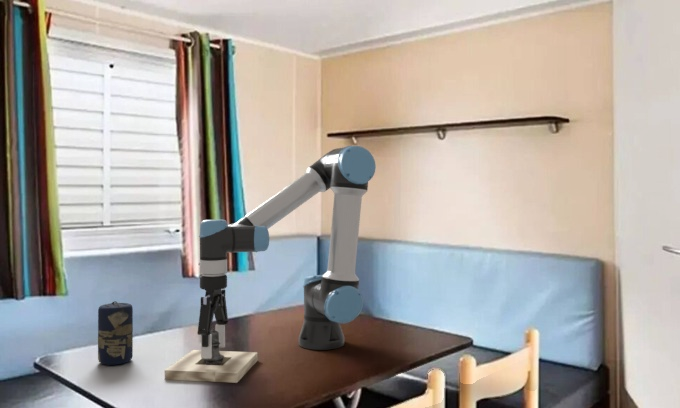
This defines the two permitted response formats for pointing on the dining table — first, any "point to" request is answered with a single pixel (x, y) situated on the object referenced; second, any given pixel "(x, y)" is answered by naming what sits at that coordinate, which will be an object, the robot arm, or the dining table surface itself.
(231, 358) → the socket
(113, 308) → the canister
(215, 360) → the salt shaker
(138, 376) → the dining table surface
